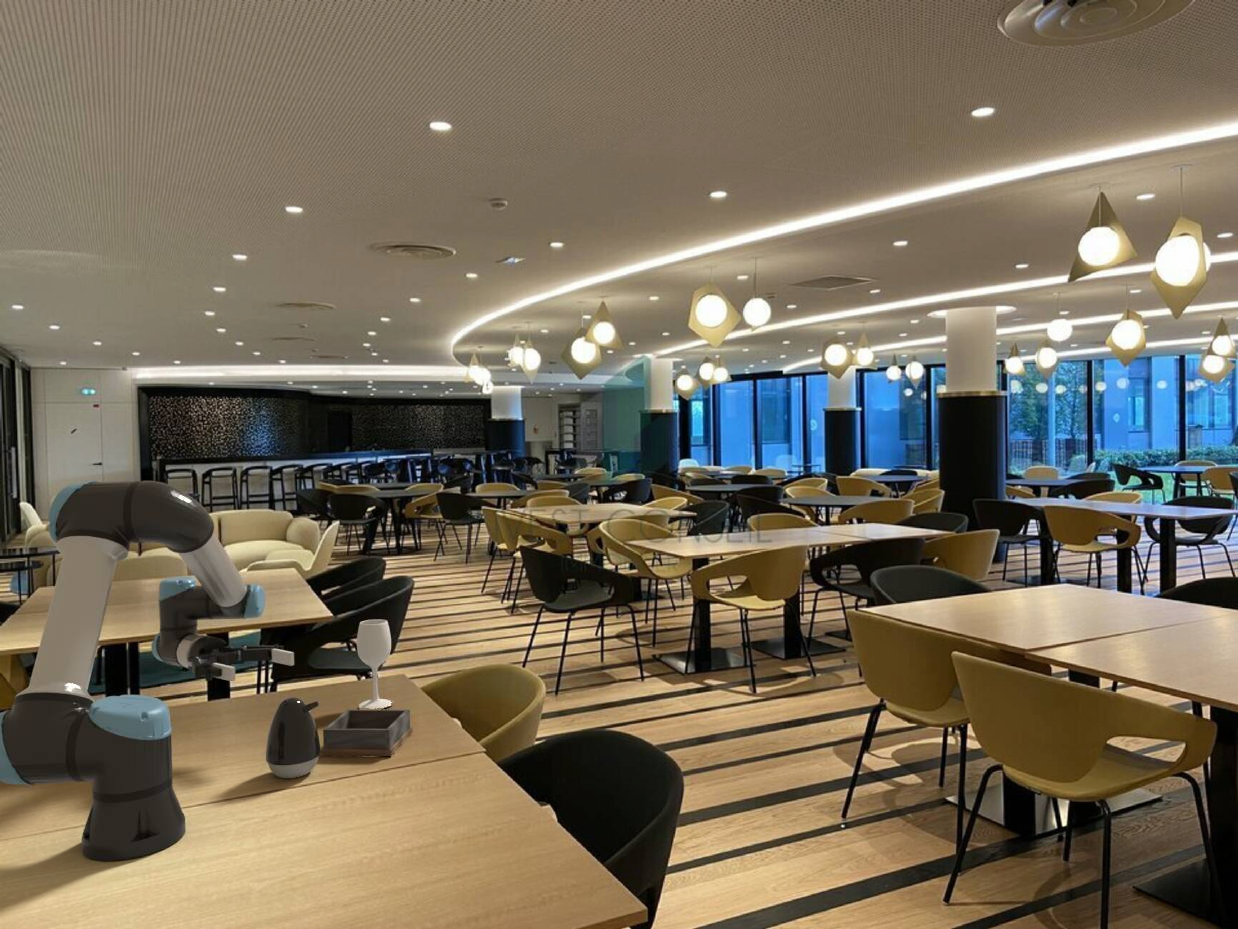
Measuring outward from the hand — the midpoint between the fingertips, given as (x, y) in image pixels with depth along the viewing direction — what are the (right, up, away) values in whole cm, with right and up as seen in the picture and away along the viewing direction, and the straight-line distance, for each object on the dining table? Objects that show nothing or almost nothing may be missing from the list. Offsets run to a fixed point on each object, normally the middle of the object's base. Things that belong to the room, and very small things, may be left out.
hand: (264, 666), depth 183 cm
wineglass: (+12, -19, +39) cm, 45 cm away
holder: (+18, -19, +11) cm, 29 cm away
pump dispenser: (+8, -20, -5) cm, 22 cm away
